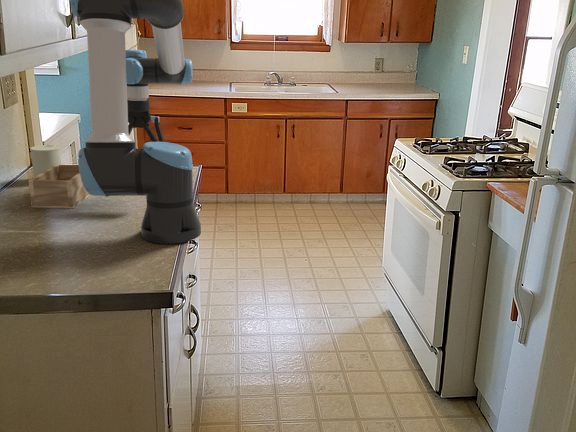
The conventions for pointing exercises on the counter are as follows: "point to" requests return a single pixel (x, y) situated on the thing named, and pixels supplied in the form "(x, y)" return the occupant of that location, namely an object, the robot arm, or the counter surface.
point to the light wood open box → (57, 188)
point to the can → (44, 157)
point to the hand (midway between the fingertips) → (141, 166)
